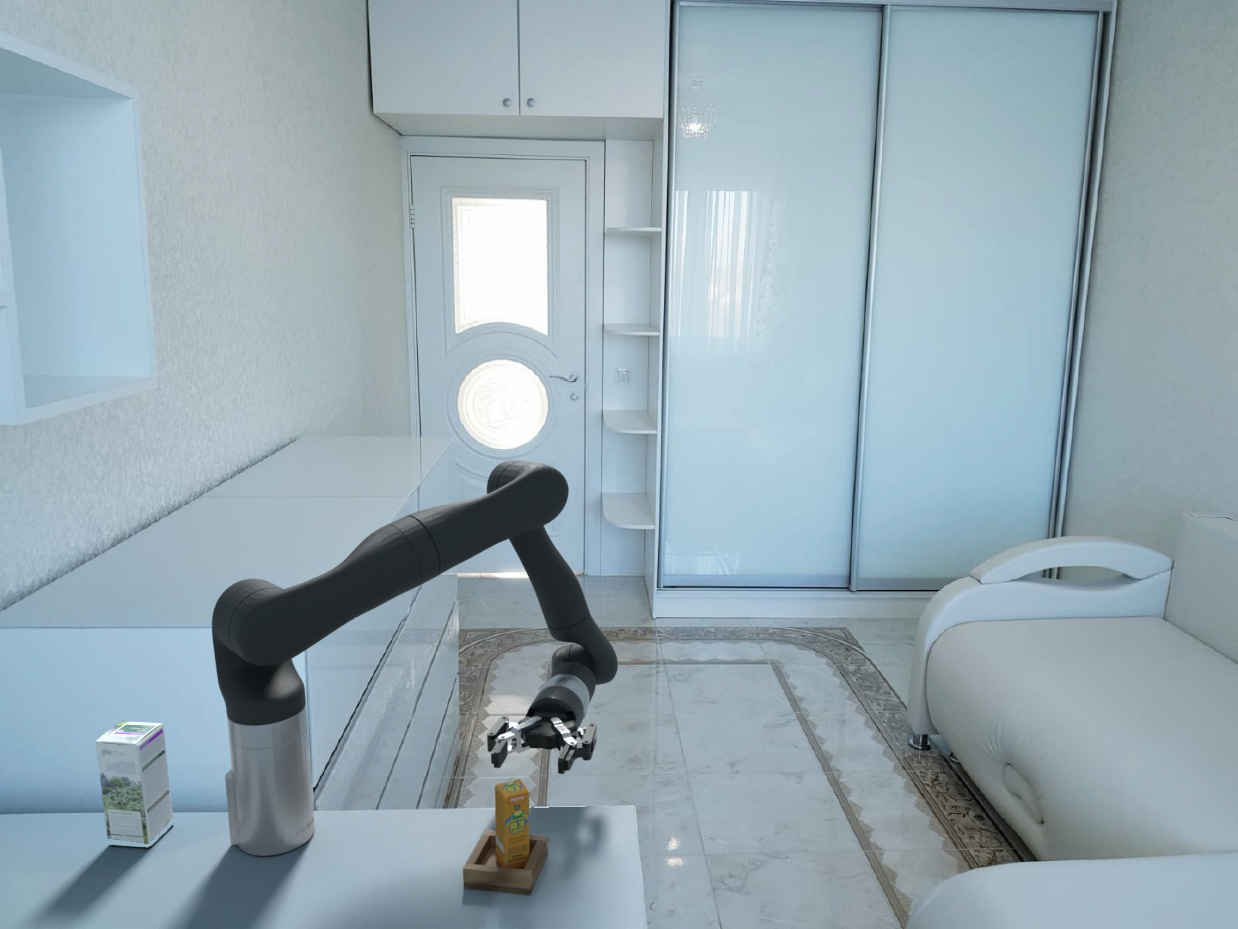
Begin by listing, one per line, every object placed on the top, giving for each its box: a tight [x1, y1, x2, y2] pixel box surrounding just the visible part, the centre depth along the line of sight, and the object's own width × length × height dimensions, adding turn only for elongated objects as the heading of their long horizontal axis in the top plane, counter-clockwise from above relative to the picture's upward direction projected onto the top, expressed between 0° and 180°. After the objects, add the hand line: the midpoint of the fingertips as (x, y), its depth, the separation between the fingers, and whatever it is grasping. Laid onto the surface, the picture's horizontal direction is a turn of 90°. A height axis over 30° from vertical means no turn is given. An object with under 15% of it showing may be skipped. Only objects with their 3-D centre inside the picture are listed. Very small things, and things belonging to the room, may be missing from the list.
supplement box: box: [494, 778, 530, 869], centre depth 112 cm, size 3×3×10 cm
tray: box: [462, 829, 549, 896], centre depth 112 cm, size 8×8×2 cm
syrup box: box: [95, 721, 174, 844], centre depth 119 cm, size 6×6×14 cm
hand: (528, 764), depth 121 cm, fingers open, 8 cm apart
